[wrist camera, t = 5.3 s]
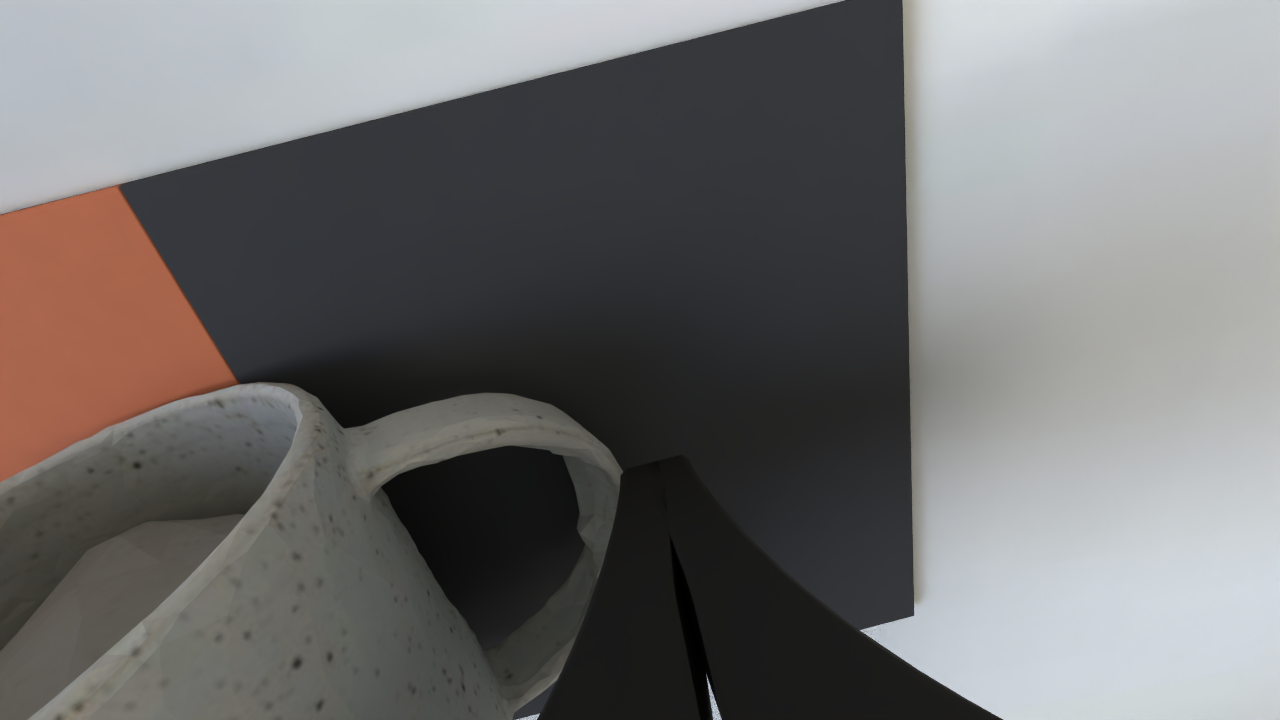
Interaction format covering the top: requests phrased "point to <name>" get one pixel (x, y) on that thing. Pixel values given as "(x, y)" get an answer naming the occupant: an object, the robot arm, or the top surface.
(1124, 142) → the top surface
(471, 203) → the runner mat
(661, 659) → the robot arm
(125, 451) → the ceramic mug
